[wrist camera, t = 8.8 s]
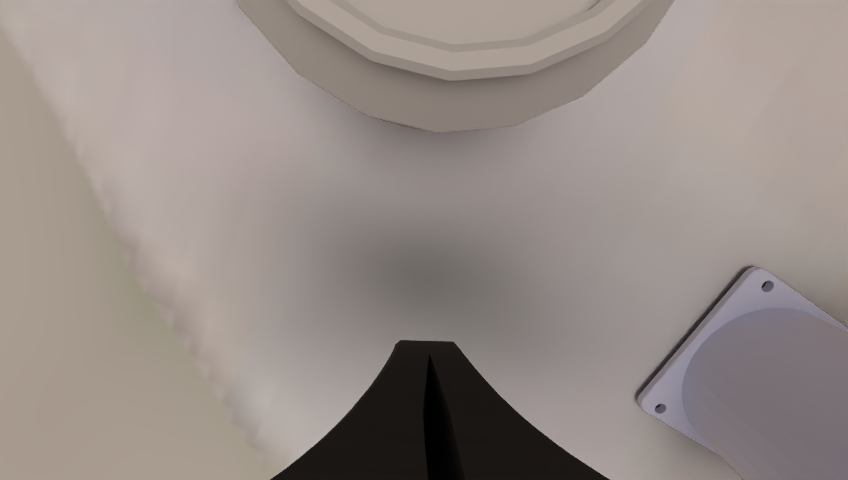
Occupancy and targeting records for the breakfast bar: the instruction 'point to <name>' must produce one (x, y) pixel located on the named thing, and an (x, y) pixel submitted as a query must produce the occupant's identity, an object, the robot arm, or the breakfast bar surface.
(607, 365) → the breakfast bar surface
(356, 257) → the breakfast bar surface
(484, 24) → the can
